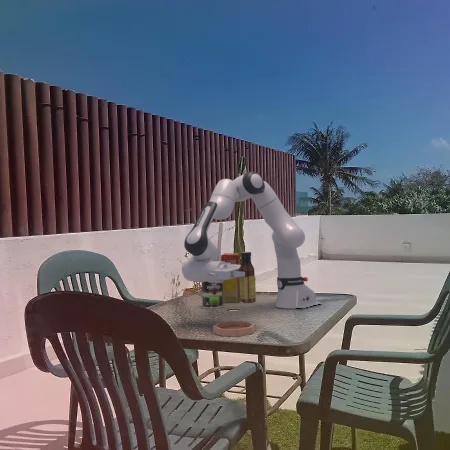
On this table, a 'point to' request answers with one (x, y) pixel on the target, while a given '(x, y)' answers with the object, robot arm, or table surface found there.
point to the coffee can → (211, 295)
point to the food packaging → (231, 280)
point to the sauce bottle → (247, 279)
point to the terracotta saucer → (234, 328)
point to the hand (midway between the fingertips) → (249, 273)
